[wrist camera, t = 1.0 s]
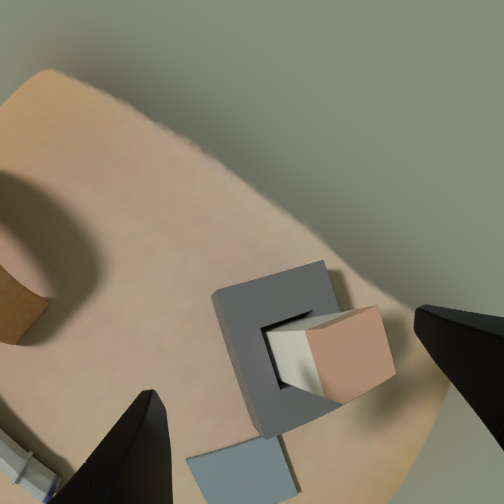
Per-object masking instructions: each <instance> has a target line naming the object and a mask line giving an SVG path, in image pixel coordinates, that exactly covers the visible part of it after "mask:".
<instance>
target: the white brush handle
mask: <svg viewBox="0 0 504 504" xmlns="http://www.w3.org/2000/svg"><path fill="white" fill-rule="evenodd" d="M32 455H33V453H32V452H31V451H30V452H29V453H28V452H26V451H25V450H24V449H23V448H22V447H20V446H19V445H18V444H17V443H16V442H15V441H14V440H12V439H11V438H10V437H9V436H8V435H7V434H6V433H5V432H4V431H3V430H2V429H0V469H1V470H2V471H3V472H4V473H5V474H6V475H7V476H8V477H9V478H10V479H12V480H11V483H12V484H13V485H14V484H15V483H17V484H18V485H19V486H20V487H22V488H23V489H24V490H26V491H27V492H28V493H30V494H31V495H32V496H34V497H35V498H36V499H38V500H39V501H41V502H42V503H44V504H47V503H48V502H49V501H50V500H51V499H52V497H53V495H54V493H55V491H56V490H57V488H58V486H59V483H60V481H61V479H62V478H60V477H59V476H58V475H56V474H55V473H53V472H52V471H51V470H49V469H48V468H47V467H45V466H44V465H43V464H41V463H40V462H39V461H38V460H36V459H35V458H34V457H32Z"/></svg>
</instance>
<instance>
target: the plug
mask: <svg viewBox="0 0 504 504" xmlns="http://www.w3.org/2000/svg"><path fill="white" fill-rule="evenodd" d="M261 333H262V336H263V339H264V342H265V345H266V348H267V351H268V355H269V358H270V361H271V364H272V367H273V370H274V373H275V376H276V379H278V380H280V381H283V382H285V383H288V384H290V385H293V386H295V387H298V388H300V389H303V390H305V391H308V392H311V393H313V394H316V395H319V396H321V397H324V398H327V399H330V400H333V401H335V402H338V403H341V404H346V403H348V402H350V401H351V400H353V399H355V398H357V397H359V396H360V395H362V394H364V393H366V392H367V391H369V390H371V389H373V388H374V387H376V386H378V385H379V384H381V383H382V382H384V381H386V380H387V379H389V378H391V377H392V376H394V375H395V374H396V372H395V368H394V364H393V359H392V355H391V352H390V348H389V344H388V340H387V336H386V333H385V329H384V326H383V322H382V319H381V315H380V312H379V308H378V305H375V306H370V307H365V308H360V309H355V310H350V311H345V312H339V313H334V314H328V315H322V316H316V317H310V318H304V319H297V320H292V321H289V322H286V323H284V324H281V325H278V326H275V327H272V328H269V329H266V330H263V331H261Z"/></svg>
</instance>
